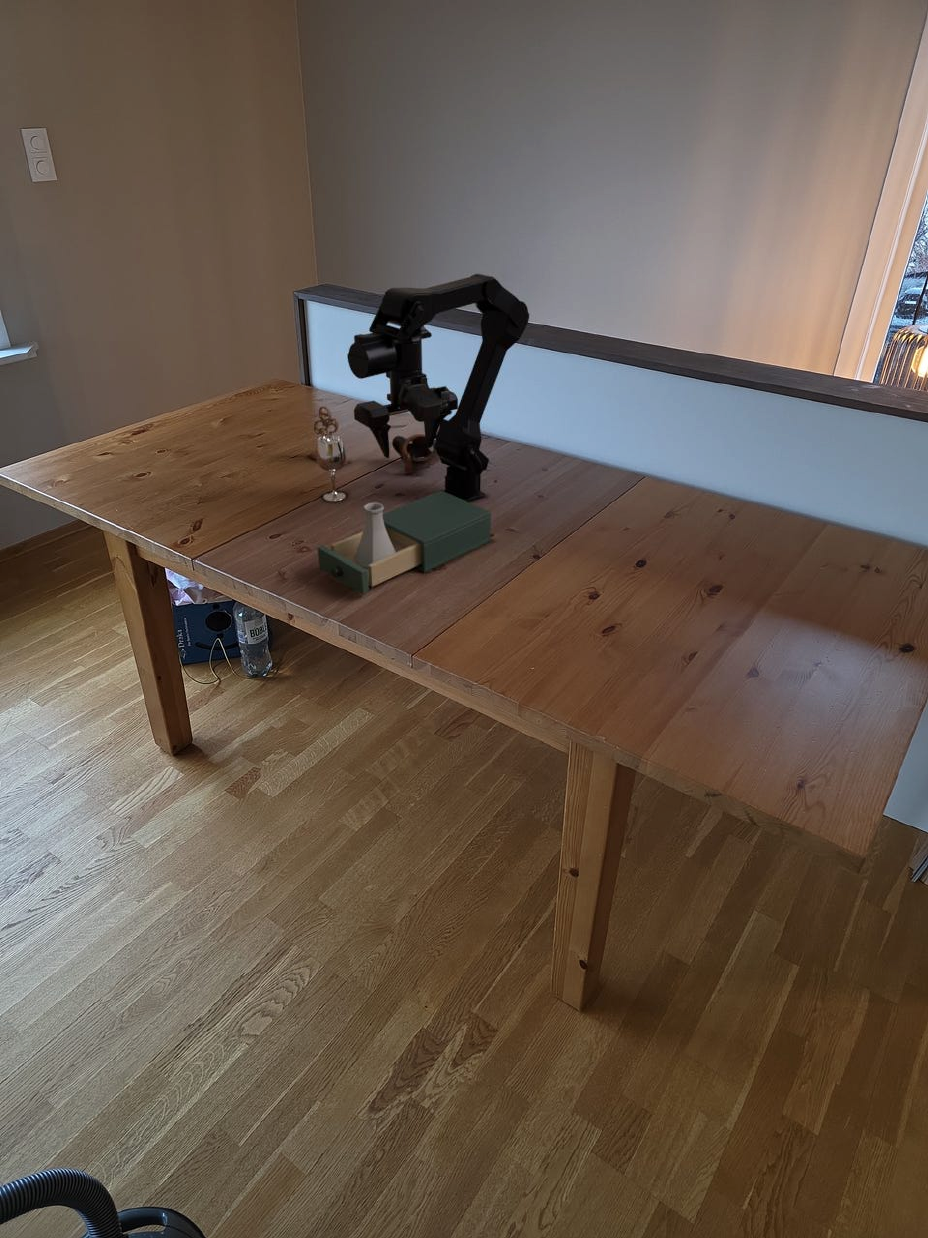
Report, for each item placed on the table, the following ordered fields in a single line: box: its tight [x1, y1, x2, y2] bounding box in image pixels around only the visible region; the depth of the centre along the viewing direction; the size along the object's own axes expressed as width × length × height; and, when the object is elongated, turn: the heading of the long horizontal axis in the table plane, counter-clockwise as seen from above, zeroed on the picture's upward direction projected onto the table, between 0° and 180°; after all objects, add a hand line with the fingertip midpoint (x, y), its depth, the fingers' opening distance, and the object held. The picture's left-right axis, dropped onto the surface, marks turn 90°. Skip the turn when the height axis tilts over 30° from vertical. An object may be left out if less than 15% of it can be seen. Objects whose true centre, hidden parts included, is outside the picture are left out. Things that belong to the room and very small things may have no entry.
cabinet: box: [382, 490, 492, 573], centre depth 144 cm, size 16×13×6 cm
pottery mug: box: [391, 433, 440, 475], centre depth 174 cm, size 12×10×8 cm
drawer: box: [317, 526, 422, 596], centre depth 135 cm, size 17×12×4 cm
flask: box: [354, 501, 396, 568], centre depth 134 cm, size 7×7×10 cm
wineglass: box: [315, 435, 347, 502], centre depth 158 cm, size 6×6×12 cm
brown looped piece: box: [309, 406, 349, 465], centre depth 175 cm, size 9×4×12 cm, turn 47°
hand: (408, 452), depth 148 cm, fingers open, 9 cm apart
